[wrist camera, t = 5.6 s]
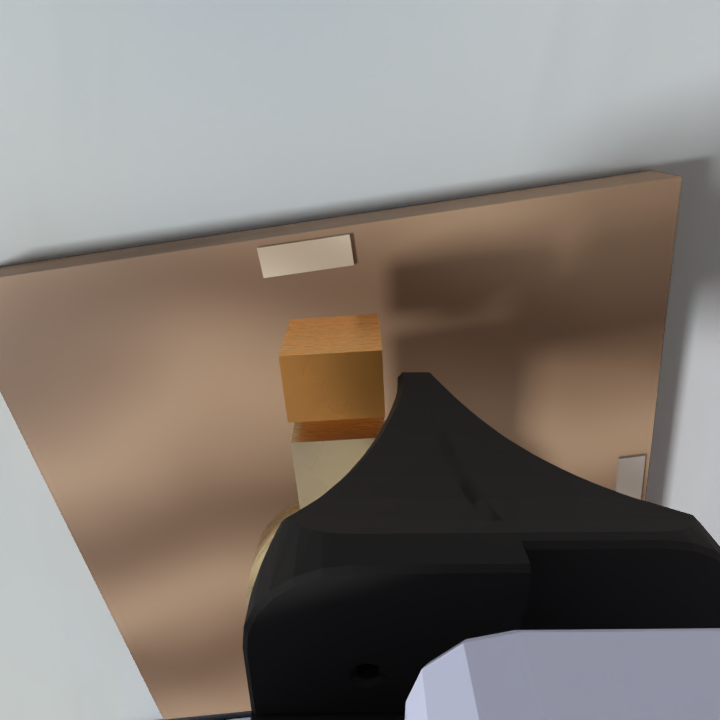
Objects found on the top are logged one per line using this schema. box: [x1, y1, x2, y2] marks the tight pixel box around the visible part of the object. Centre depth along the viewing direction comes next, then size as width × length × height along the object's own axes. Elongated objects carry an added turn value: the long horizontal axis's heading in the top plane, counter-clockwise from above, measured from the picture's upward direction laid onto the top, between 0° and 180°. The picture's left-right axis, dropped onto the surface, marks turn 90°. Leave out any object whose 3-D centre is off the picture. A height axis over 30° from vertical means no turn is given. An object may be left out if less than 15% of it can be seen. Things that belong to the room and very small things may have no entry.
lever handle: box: [247, 314, 385, 606], centre depth 13 cm, size 11×6×2 cm, turn 3°
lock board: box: [0, 171, 682, 719], centre depth 17 cm, size 19×19×4 cm
